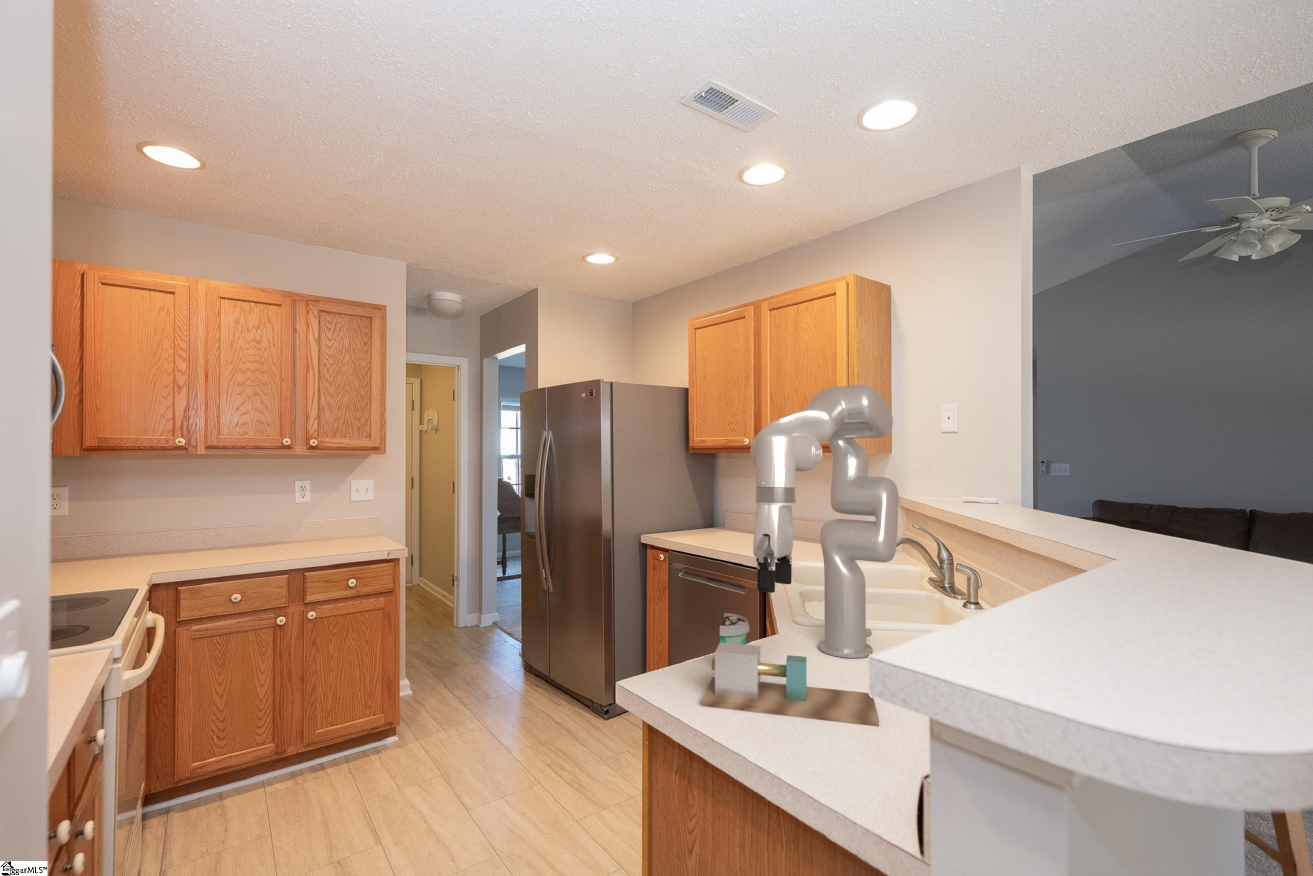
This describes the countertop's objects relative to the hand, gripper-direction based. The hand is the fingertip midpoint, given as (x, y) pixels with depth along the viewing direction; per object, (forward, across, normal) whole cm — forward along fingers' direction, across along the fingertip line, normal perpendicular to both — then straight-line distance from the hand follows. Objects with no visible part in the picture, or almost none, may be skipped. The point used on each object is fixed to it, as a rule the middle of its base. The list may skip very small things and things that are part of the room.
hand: (774, 587), depth 112 cm
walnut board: (+22, -2, +2) cm, 22 cm away
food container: (+22, -16, -14) cm, 31 cm away
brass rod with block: (+20, 0, -3) cm, 21 cm away
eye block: (+20, +1, -7) cm, 22 cm away
